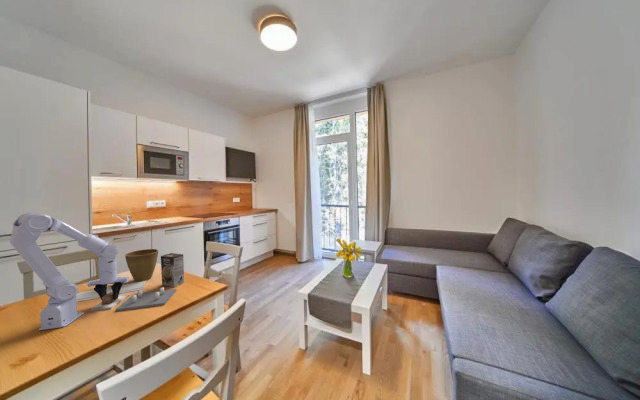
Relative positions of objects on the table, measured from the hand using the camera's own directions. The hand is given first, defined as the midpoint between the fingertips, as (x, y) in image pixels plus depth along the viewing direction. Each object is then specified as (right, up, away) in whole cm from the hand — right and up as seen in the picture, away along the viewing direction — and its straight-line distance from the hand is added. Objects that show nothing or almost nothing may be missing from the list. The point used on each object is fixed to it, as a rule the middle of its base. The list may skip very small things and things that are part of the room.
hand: (110, 299), depth 99 cm
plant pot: (-6, -1, +26) cm, 27 cm away
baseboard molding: (-12, -2, +10) cm, 15 cm away
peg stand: (+16, -1, +2) cm, 16 cm away
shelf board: (0, -2, 0) cm, 2 cm away
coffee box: (+16, -1, +20) cm, 25 cm away
